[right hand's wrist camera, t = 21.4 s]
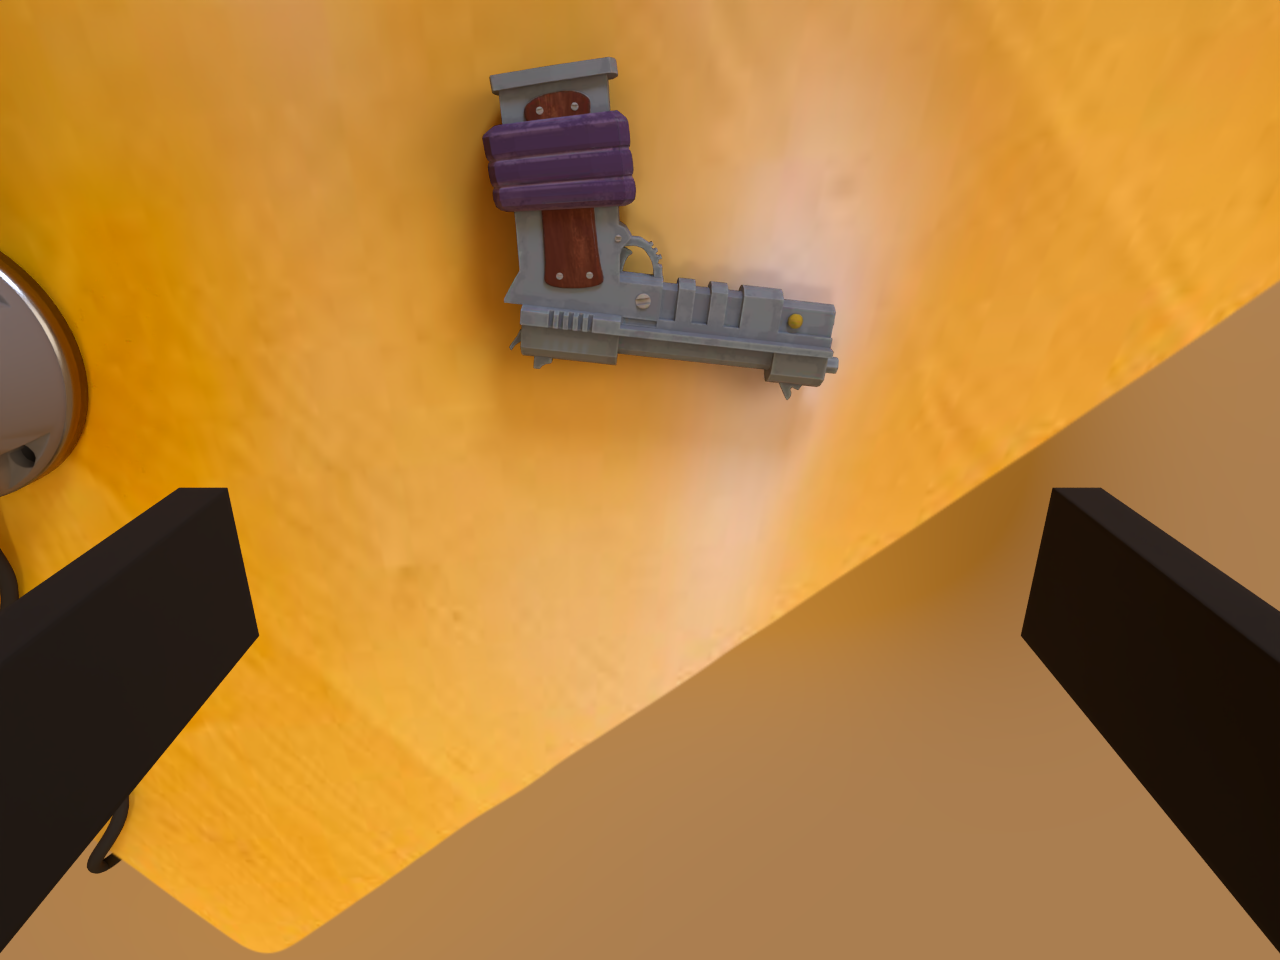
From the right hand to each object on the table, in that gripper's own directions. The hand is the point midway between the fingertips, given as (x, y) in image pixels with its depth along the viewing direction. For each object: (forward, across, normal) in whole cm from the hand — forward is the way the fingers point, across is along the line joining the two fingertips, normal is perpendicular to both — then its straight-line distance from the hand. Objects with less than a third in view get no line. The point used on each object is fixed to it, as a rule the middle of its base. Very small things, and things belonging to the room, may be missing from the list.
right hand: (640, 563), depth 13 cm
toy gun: (+31, -2, -3) cm, 31 cm away
